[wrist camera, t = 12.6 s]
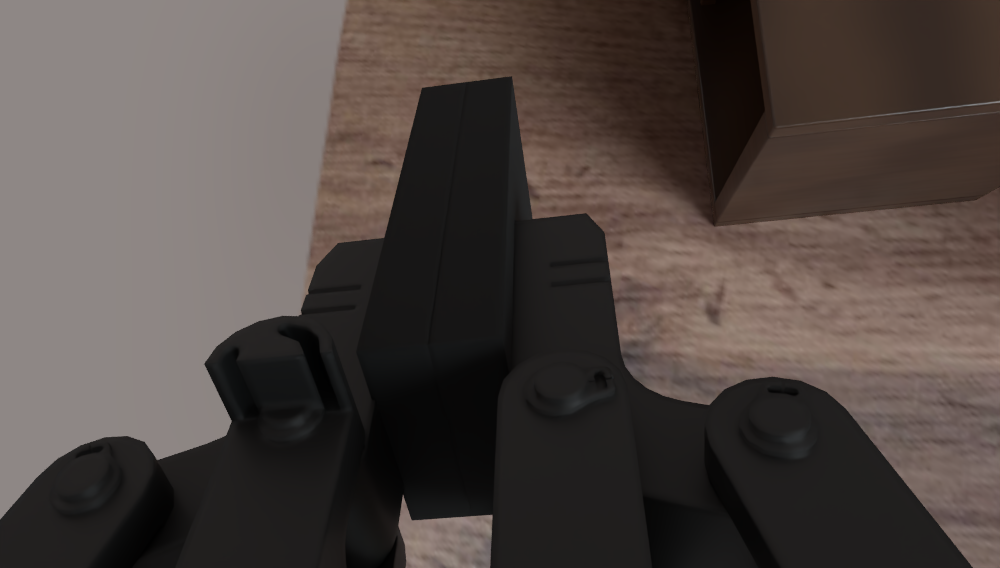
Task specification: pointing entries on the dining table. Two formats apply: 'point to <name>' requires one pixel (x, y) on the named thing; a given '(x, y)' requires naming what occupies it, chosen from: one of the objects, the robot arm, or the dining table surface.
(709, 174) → the cupboard
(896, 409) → the dining table surface
